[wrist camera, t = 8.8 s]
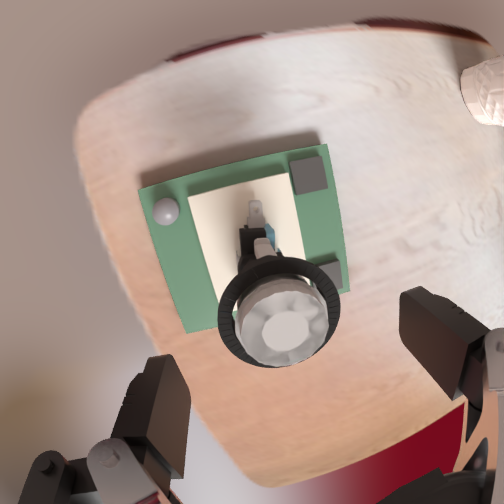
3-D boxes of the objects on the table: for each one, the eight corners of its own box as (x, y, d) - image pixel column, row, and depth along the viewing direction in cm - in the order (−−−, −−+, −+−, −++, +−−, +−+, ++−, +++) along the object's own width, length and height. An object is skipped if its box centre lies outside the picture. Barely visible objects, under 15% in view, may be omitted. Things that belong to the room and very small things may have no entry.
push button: (215, 201, 19) (206, 236, 10) (293, 197, 20) (356, 227, 10) (222, 292, 21) (224, 387, 11) (293, 286, 21) (341, 371, 12)
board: (321, 144, 21) (332, 142, 18) (344, 285, 24) (355, 296, 22) (142, 188, 20) (132, 191, 18) (187, 326, 24) (184, 341, 22)
